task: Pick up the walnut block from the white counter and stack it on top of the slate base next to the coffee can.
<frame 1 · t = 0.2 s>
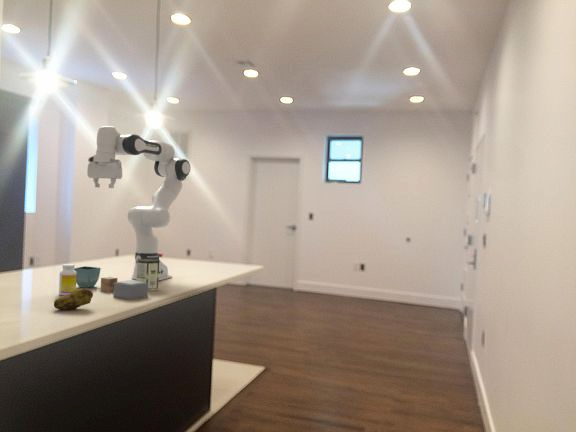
hand: (104, 187, 237), 47 cm above the table, tool pointing down, fingers open, 8 cm apart
slate base: (130, 296, 214), on the table
coffee can: (147, 289, 235), on the table
flower pot: (86, 287, 232), on the table
walnut block: (108, 291, 225), on the table
supplement bottle: (67, 294, 211), on the table
potato: (73, 310, 184), on the table
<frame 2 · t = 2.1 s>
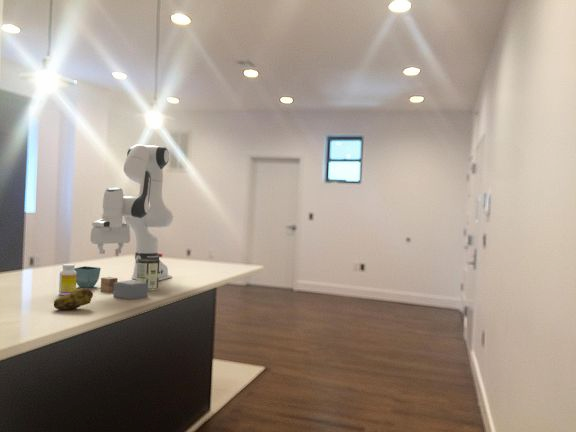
hand: (110, 253, 224), 17 cm above the table, tool pointing down, fingers open, 8 cm apart
nothing on the table moved.
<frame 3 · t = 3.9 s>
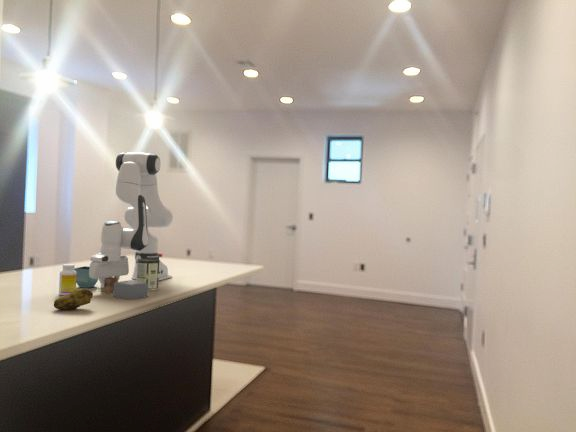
hand: (109, 286, 225), 2 cm above the table, tool pointing down, fingers closed on walnut block, 5 cm apart
walnut block: (108, 290, 225), on the table, touching gripper
everything else where it was.
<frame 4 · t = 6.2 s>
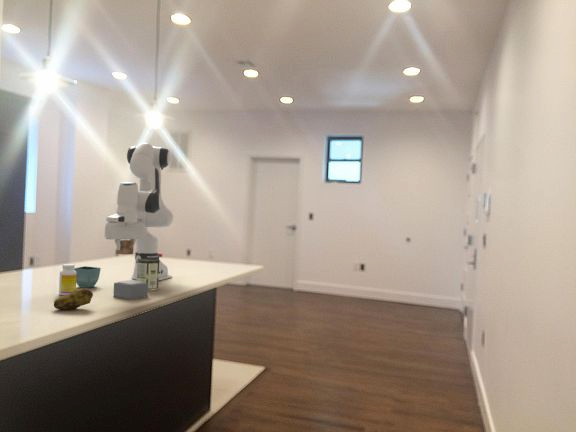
hand: (125, 249, 216), 20 cm above the table, tool pointing down, fingers closed on walnut block, 5 cm apart
walnut block: (124, 253, 216), point 18 cm above the table, touching gripper
everything else where it was.
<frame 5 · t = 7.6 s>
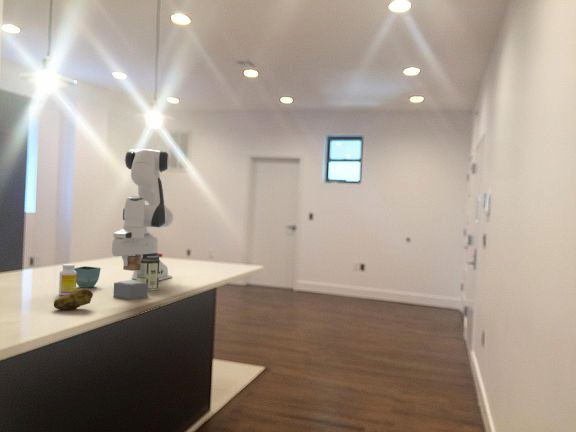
hand: (132, 265, 214), 14 cm above the table, tool pointing down, fingers closed on walnut block, 5 cm apart
walnut block: (131, 269, 214), point 12 cm above the table, touching gripper
everything else where it was.
when the fingers open (10 cm above the table, at t = 8.7 s): walnut block drops 2 cm, resting on slate base.
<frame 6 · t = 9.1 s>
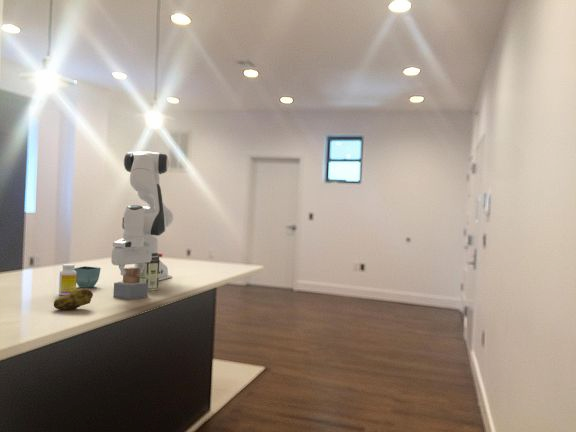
hand: (131, 274, 214), 10 cm above the table, tool pointing down, fingers open, 8 cm apart
walnut block: (131, 282, 214), point 6 cm above the table, touching slate base
everything else where it was.
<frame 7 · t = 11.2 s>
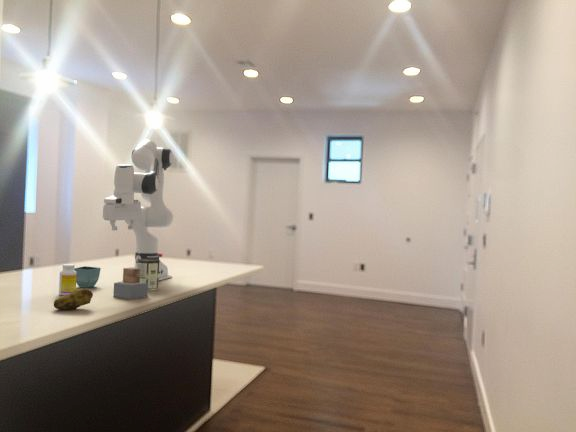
hand: (122, 229, 224), 28 cm above the table, tool pointing down, fingers open, 8 cm apart
nothing on the table moved.
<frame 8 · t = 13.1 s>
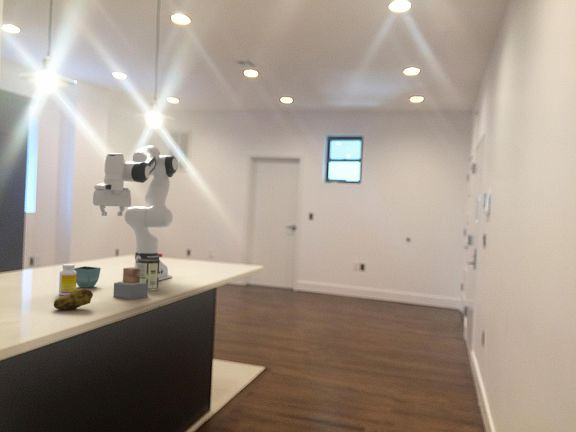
hand: (112, 215, 233), 34 cm above the table, tool pointing down, fingers open, 8 cm apart
nothing on the table moved.
at the end: walnut block inside the target area on the slate base (0.1 cm from its centre), point 6.4 cm above the slate base's base; walnut block tilted 0°; the gripper is holding nothing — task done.
